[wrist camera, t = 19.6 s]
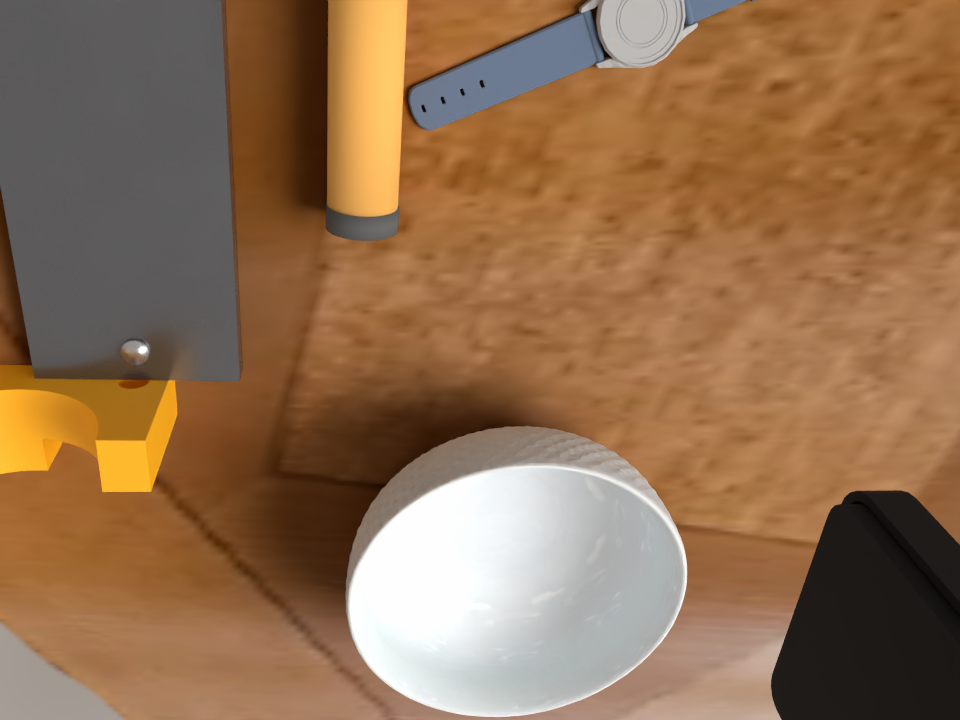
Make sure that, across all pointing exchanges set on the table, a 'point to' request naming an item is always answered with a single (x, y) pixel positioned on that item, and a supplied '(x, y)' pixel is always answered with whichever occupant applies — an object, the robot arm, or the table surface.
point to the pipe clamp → (86, 424)
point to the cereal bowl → (513, 573)
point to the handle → (364, 116)
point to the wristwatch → (562, 54)
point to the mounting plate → (121, 187)
